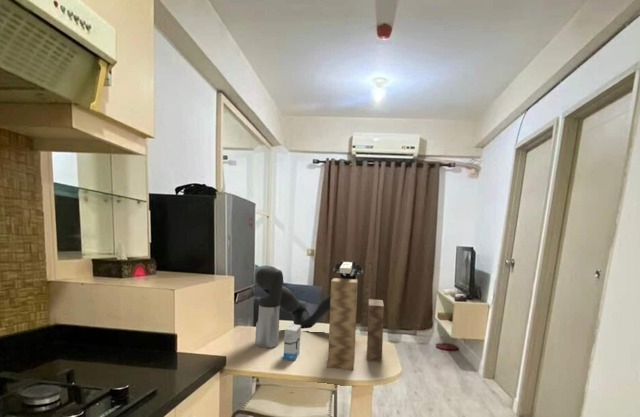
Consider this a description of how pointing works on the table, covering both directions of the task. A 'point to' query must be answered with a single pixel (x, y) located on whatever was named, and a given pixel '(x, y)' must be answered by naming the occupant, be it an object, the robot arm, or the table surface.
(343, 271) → the long ivory domino tile
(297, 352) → the ink box
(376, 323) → the walnut post
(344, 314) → the oak post
